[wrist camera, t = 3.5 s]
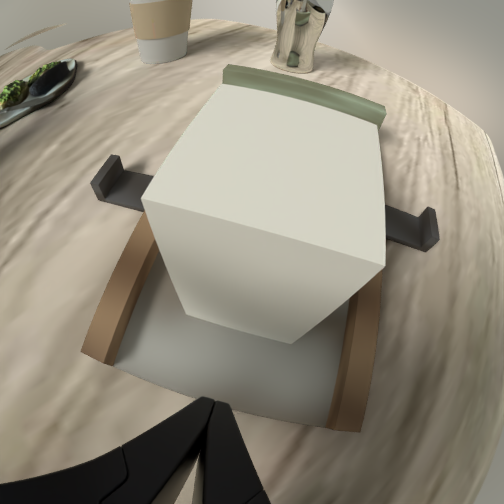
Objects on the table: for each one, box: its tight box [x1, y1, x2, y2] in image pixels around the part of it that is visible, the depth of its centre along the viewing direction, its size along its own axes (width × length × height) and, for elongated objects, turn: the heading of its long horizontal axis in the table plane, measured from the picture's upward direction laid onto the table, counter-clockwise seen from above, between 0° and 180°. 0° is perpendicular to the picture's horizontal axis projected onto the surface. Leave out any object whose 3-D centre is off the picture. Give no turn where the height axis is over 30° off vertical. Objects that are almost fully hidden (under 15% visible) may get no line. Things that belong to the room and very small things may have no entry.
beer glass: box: [270, 0, 334, 73], centre depth 26 cm, size 7×7×15 cm
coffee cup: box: [129, 0, 192, 64], centre depth 25 cm, size 9×9×15 cm
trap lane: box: [81, 64, 440, 432], centre depth 18 cm, size 26×26×5 cm
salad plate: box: [0, 59, 77, 128], centre depth 25 cm, size 19×18×5 cm
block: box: [141, 84, 386, 344], centre depth 12 cm, size 6×6×10 cm
